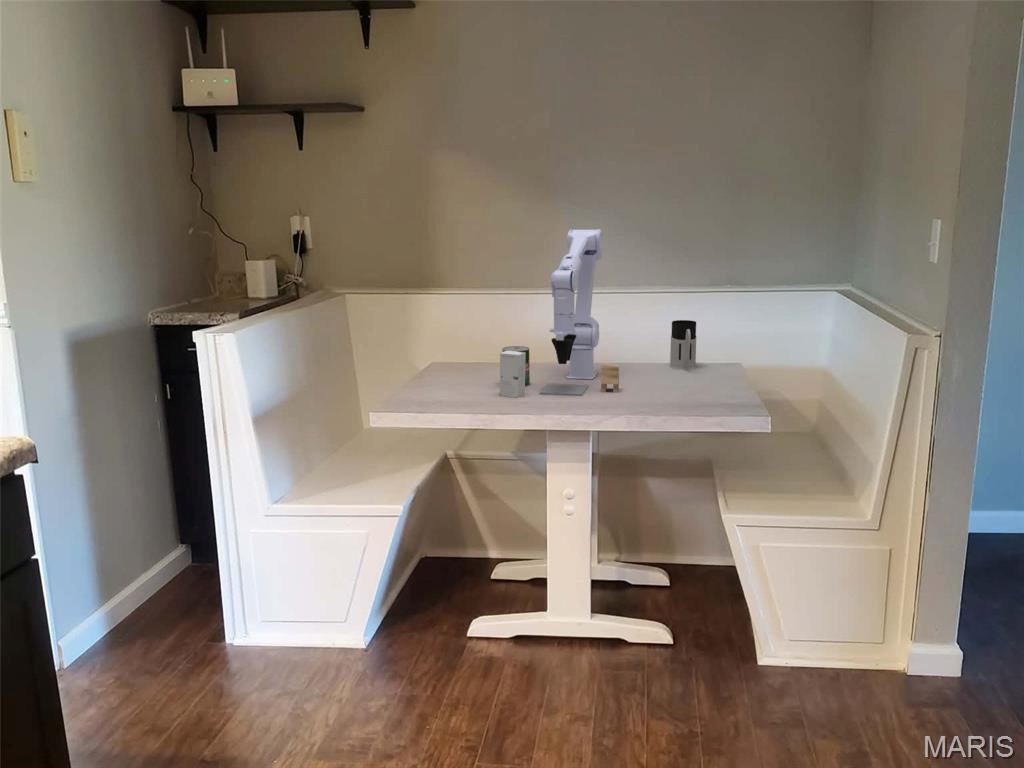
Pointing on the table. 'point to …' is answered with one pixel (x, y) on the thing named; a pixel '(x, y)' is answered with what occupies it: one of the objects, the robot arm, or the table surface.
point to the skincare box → (512, 373)
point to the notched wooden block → (610, 377)
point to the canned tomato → (526, 350)
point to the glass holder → (683, 345)
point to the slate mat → (564, 389)
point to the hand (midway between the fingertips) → (564, 362)
